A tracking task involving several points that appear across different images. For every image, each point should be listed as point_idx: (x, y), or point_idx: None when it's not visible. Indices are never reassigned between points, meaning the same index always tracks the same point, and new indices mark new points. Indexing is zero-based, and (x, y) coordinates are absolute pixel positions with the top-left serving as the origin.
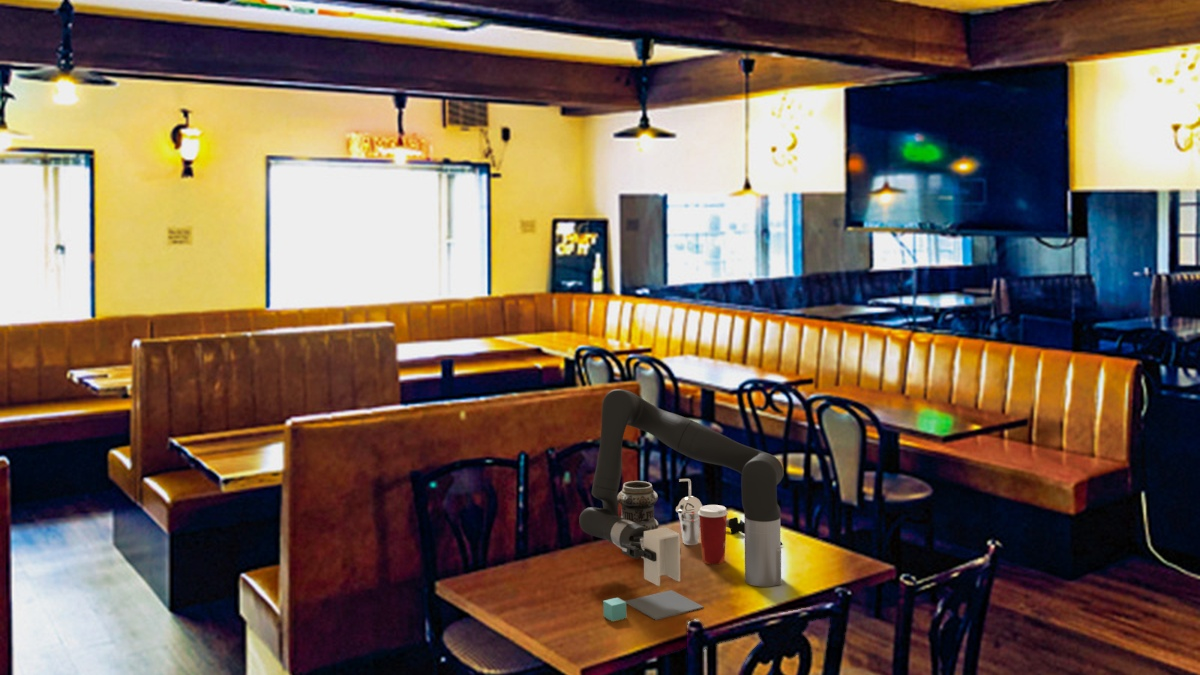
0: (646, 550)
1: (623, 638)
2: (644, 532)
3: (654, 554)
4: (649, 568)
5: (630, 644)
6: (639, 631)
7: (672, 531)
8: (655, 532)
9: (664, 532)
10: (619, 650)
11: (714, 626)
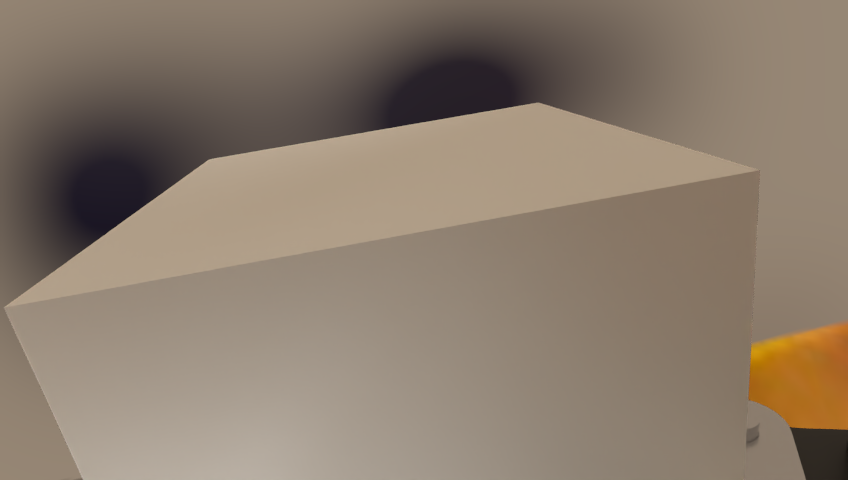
0: None
1: (832, 420)
2: (735, 184)
3: None
4: None
5: (784, 374)
6: None
7: (198, 186)
8: (486, 157)
9: (342, 164)
10: (829, 347)
11: None
